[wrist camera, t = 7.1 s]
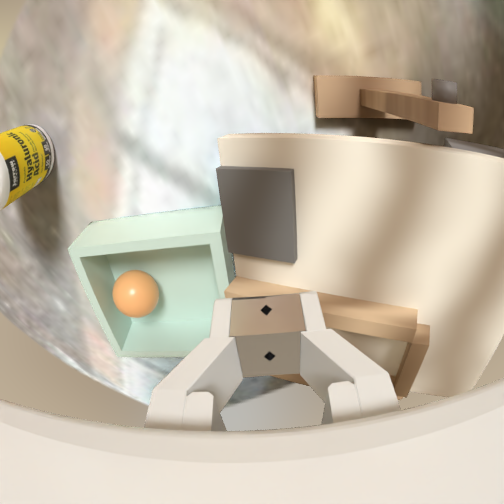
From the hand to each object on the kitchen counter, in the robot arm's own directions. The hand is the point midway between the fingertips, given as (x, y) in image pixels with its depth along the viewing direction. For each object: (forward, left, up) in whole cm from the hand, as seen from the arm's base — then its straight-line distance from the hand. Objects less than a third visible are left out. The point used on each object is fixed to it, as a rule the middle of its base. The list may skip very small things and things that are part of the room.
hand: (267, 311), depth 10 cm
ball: (+11, +8, -13) cm, 18 cm away
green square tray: (+8, +8, -15) cm, 19 cm away
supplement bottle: (+18, -5, -15) cm, 24 cm away
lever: (-9, +4, -12) cm, 15 cm away
